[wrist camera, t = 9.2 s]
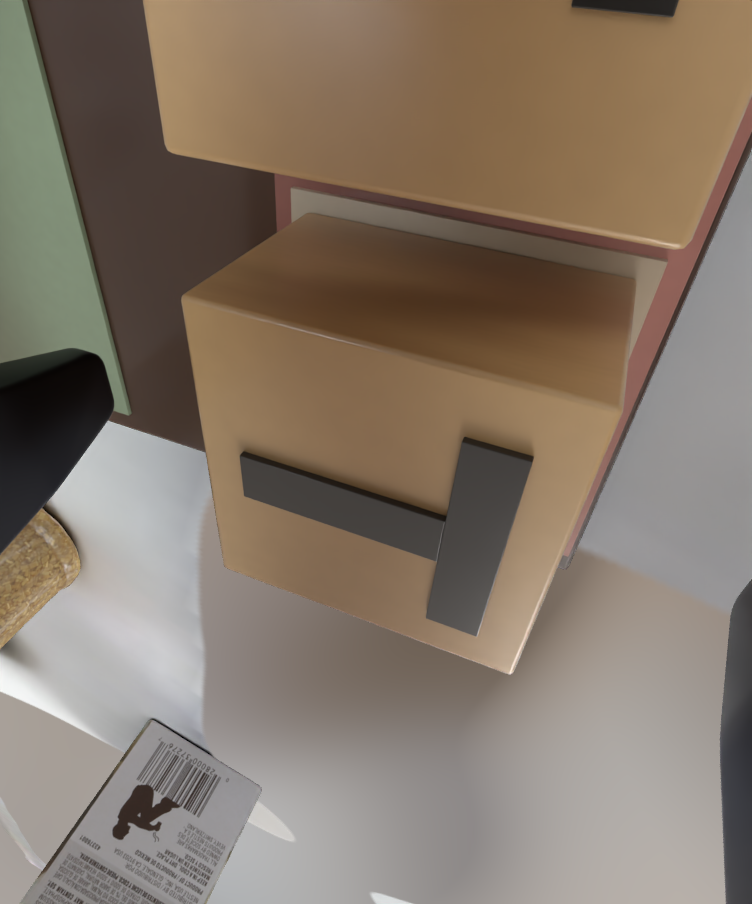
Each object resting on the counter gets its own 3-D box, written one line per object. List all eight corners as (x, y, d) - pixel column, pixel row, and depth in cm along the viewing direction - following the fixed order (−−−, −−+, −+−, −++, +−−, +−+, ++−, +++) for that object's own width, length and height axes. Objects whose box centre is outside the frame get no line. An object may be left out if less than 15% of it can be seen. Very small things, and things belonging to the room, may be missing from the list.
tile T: (639, 278, 7) (624, 416, 5) (546, 527, 10) (511, 685, 8) (306, 210, 8) (171, 298, 6) (309, 453, 11) (218, 573, 9)
